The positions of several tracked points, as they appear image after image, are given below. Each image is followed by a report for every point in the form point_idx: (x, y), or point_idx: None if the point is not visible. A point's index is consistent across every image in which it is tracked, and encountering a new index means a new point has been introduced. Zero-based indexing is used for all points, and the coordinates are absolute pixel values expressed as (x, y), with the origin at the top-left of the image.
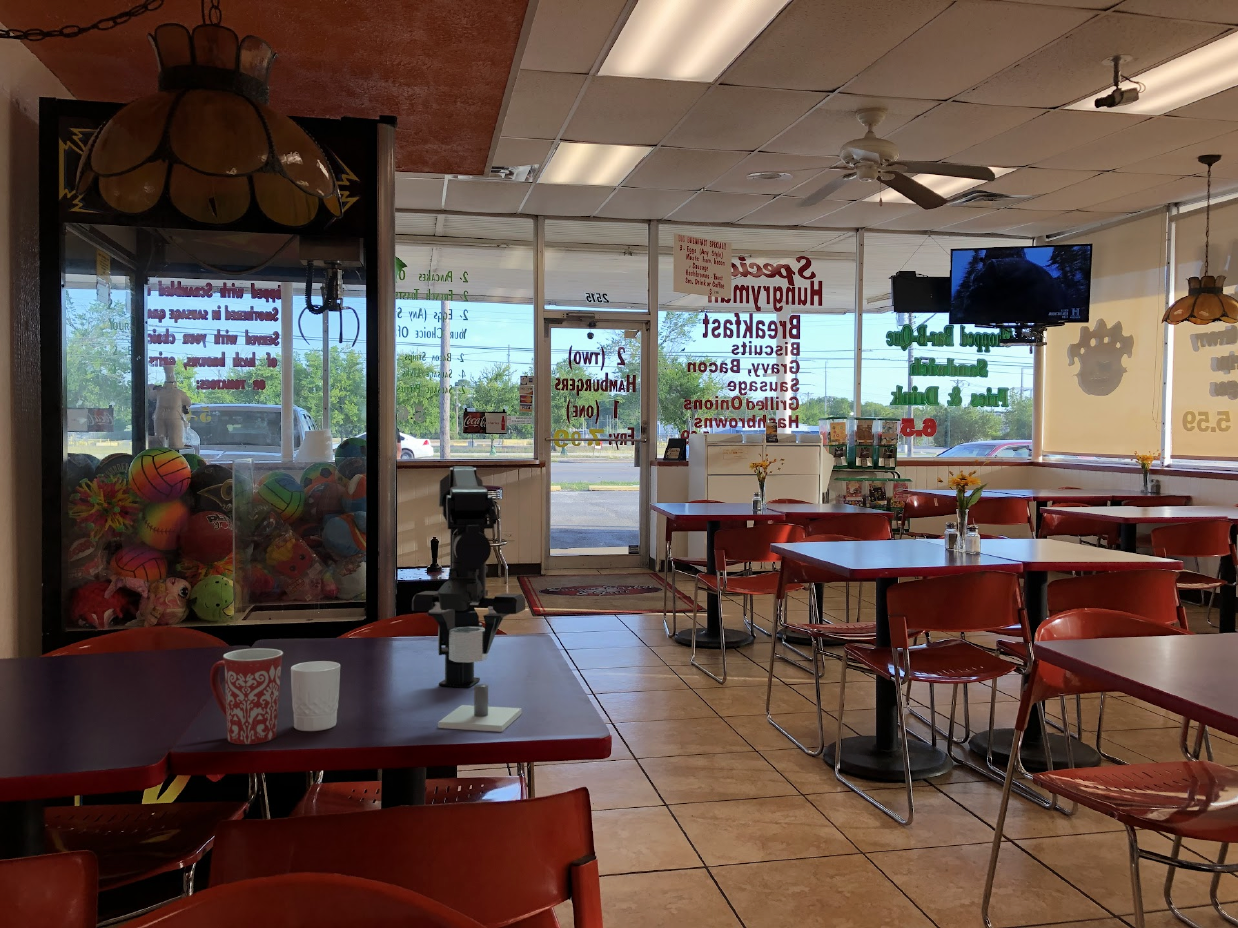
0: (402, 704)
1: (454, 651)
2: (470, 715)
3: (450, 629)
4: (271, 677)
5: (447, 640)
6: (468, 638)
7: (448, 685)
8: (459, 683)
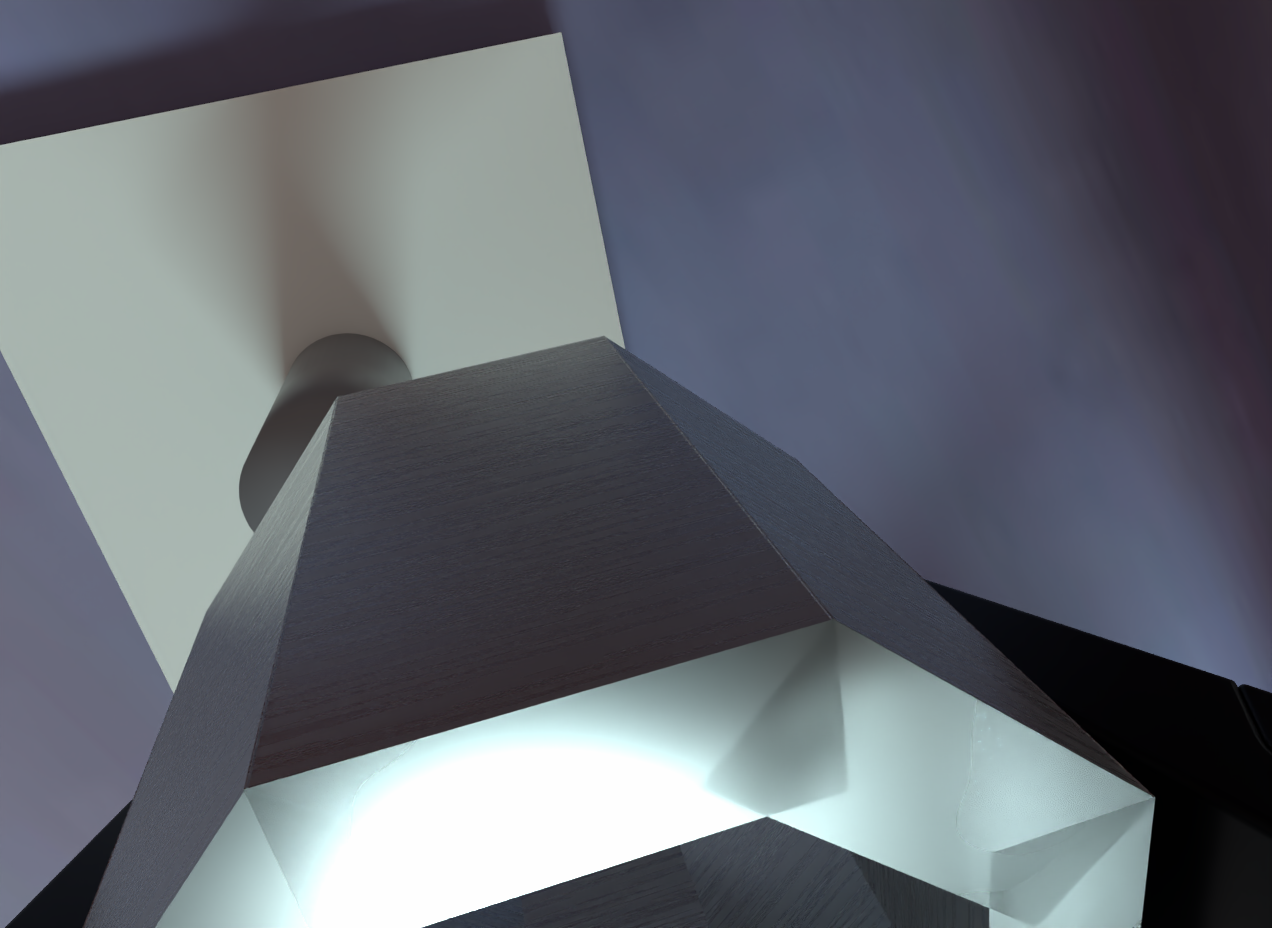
0: (1097, 472)
1: (664, 400)
2: (422, 335)
3: (1162, 922)
4: None
5: (1015, 639)
6: (293, 646)
7: None
8: None
